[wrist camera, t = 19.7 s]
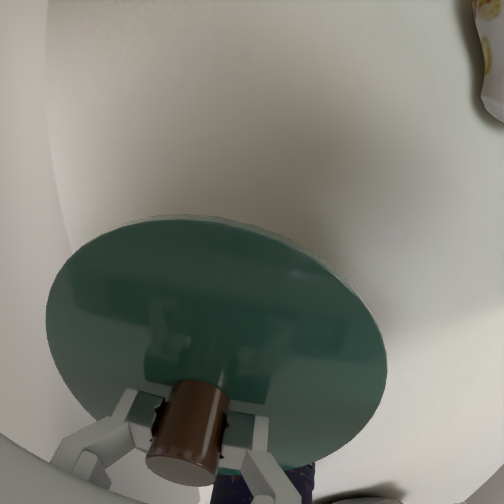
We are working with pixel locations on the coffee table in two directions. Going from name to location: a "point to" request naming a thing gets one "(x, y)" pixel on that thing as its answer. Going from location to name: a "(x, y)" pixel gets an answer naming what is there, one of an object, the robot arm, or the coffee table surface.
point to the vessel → (368, 501)
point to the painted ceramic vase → (492, 53)
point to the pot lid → (216, 339)
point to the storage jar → (240, 497)
